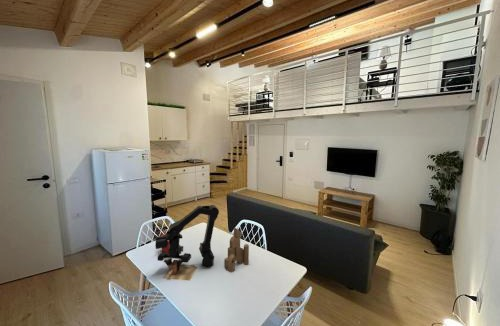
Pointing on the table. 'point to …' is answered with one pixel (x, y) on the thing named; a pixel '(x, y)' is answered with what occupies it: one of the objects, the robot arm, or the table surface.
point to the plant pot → (166, 247)
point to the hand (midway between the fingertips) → (174, 270)
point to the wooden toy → (236, 252)
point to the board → (183, 272)
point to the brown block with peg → (173, 268)
